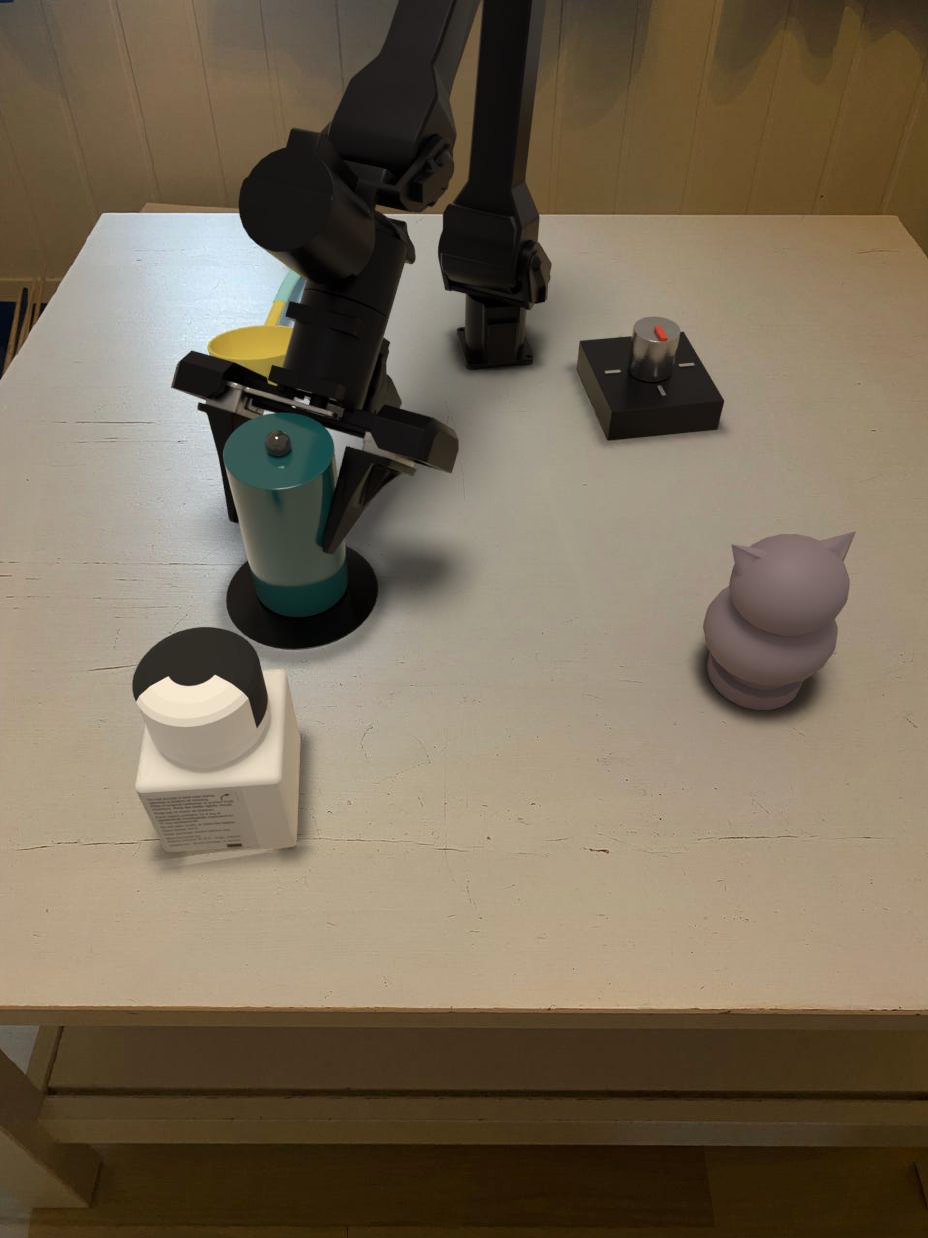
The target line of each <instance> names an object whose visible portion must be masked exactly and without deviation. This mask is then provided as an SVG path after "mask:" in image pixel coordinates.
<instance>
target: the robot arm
mask: <svg viewBox="0 0 928 1238" xmlns="http://www.w3.org/2000/svg"><path fill="white" fill-rule="evenodd" d="M480 3H481V0H397V1H396V5H395V8H394V10H393V13H392V16H391V20H390V23H389V26H388V29H387V32H386V35H385V38H384V41H383V43H382V45H381V48H380V50H379V51H378V54H377V56H375V57H373V59H372V60H371V61H369V62H368V63H367V64H366V65H364V66H363V67H362V68H361V69H359V71H357V72H356V73H355V74H353V76H351V78H350V79H349V81H348V82H347V85H346V87H345V89H344V91H343V93H342V96H341V98H340V100H339V102H338V105H337V107H336V109H335V111H334V114H333V115H332V118H331V120H330V121H329V122H328V124H326V125H325V127H323V129H322V130H320V132H319V131H314V130H309V129H303V128H300V127H294V126H293V127H291V129H290V130H289V134H288V138H287V142H286V146H285V147H282V148H279V149H276V150H273V151H271V152H270V153H268V154H267V155H265V156H264V157H263V158H261V159H260V160H259V161H258V162H257V164H255V165H254V167H253V168H252V169H251V170H250V172H249V174H248V176H246V177H245V178H244V179H243V180H242V183H241V186H240V189H239V195H238V202H237V204H238V214H239V215H238V217H239V218H240V219H239V220H240V222H241V226H242V228H243V229H244V231H245V233H246V234H247V236H248V238H249V239H251V240H252V241H253V242H254V243H255V244H256V245H257V246H259V247H260V248H261V249H262V250H264V251H265V252H267V253H268V254H269V255H271V256H272V257H273V258H275V259H276V260H278V261H279V262H281V263H282V264H283V265H284V266H285V267H287V268H289V269H290V270H293V271H294V272H296V273H297V274H298V275H300V276H301V277H300V278H302V279H305V280H306V281H305V284H304V287H303V291H302V294H301V297H300V302H296V301H292V300H288V303H287V307H286V312H285V315H284V317H286V318H287V319H289V320H290V321H292V322H293V327H292V328H293V330H292V334H291V337H290V341H289V344H288V348H287V352H286V355H285V359H284V363H283V366H282V367H279V366H275V365H272V366H271V370H270V373H269V377H268V380H267V377H265V376H263V375H261V374H259V373H257V372H254V371H252V370H250V369H248V368H246V367H244V366H242V365H239V364H237V363H235V362H232V361H228V360H225V359H221V358H217V357H214V356H210V354H206V353H203V352H199V351H195V350H192V349H191V350H190V351H189V352H188V353H187V354H185V356H183V357H181V359H180V360H179V361H178V362H177V364H176V366H175V370H174V374H173V378H172V382H171V386H170V388H171V389H173V390H176V391H178V392H182V393H185V394H186V395H190V396H192V397H195V398H197V399H201V400H203V401H205V402H199V401H198V403H197V411H199V412H201V413H204V414H206V417H207V419H208V424H209V427H210V430H211V434H212V439H213V442H214V446H215V449H216V453H217V459H218V462H219V468H220V474H221V480H222V485H223V486H222V487H223V492H224V499H225V505H226V511H227V516H228V521H229V522H230V523H234V524H239V521H238V517H237V513H236V509H235V505H234V501H233V497H232V492H231V488H230V484H229V480H228V476H227V472H226V468H225V464H224V458H223V452H224V447H225V444H226V442H227V440H228V438H229V437H230V435H231V434H232V433H233V432H234V431H235V430H236V429H237V428H238V427H239V426H241V425H242V424H244V423H245V422H247V421H249V420H251V419H253V418H256V417H259V416H262V415H265V414H264V413H265V411H266V412H268V413H269V412H270V413H295V414H300V415H304V416H307V417H310V418H312V419H314V420H316V421H317V422H319V423H320V424H322V425H323V426H324V427H325V428H326V429H327V430H331V431H335V432H337V433H342V434H345V435H348V436H352V437H356V438H358V439H362V448H361V449H359V448H355V447H353V446H349V445H345V448H344V451H343V456H342V460H341V464H340V467H339V472H338V474H337V475H338V479H337V483H336V487H335V491H334V495H333V499H332V503H331V507H330V511H329V515H328V519H327V523H326V527H325V532H324V539H323V548H322V551H323V552H324V553H327V554H333V553H334V552H335V551H336V549H337V548H338V547H339V545H340V544H341V542H342V541H343V540H344V539H345V538H346V537H347V535H348V534H349V533H350V531H351V530H352V529H353V527H354V526H355V525H356V523H357V521H358V520H359V519H360V517H361V516H362V514H363V513H364V511H365V510H366V509H367V507H368V506H369V505H370V504H371V502H372V501H373V500H374V499H375V498H376V496H377V495H378V494H379V493H380V492H381V491H382V490H383V489H384V488H385V487H386V486H387V485H388V484H390V483H392V482H393V481H394V480H396V479H398V477H400V476H402V475H408V476H410V477H414V475H415V474H416V473H417V471H418V469H416V468H414V465H415V464H417V465H421V466H424V467H427V468H431V469H435V470H437V471H441V472H444V473H447V474H452V473H453V471H454V467H455V463H456V461H457V457H458V454H459V449H460V448H459V446H460V445H459V444H460V443H459V442H460V439H459V438H458V435H457V433H456V430H455V429H453V428H452V427H450V426H449V425H447V424H445V423H443V422H441V421H440V420H438V419H436V418H434V417H432V416H429V415H425V414H421V413H418V412H414V411H410V410H407V409H404V408H402V405H403V401H402V399H401V397H400V394H399V392H398V389H397V387H396V385H395V383H394V380H393V379H392V377H391V376H390V375H389V374H388V371H387V369H388V368H387V362H388V358H389V355H390V345H391V341H390V340H389V339H387V338H385V333H386V331H387V327H388V323H389V320H390V317H391V312H392V309H393V306H394V302H395V299H396V295H397V292H398V288H399V285H400V281H401V278H402V274H403V270H404V268H405V264H408V265H413V264H414V263H415V262H416V258H417V255H416V247H415V245H414V244H413V243H414V242H413V241H412V240H411V238H410V235H409V232H408V223H407V222H406V221H405V220H400V219H396V218H392V217H388V216H386V215H385V214H384V213H382V212H380V211H379V210H376V208H377V206H379V207H380V206H381V207H384V208H390V209H395V210H398V211H402V212H406V213H407V212H408V213H416V214H417V213H420V214H421V213H423V212H424V211H425V210H426V209H428V208H433V207H434V206H435V205H436V204H437V203H438V201H439V199H440V198H441V197H443V196H444V194H445V193H446V191H448V189H449V186H450V181H451V180H452V178H453V176H454V173H455V162H454V149H455V146H456V145H455V144H456V141H457V136H458V134H457V127H456V123H455V119H454V115H453V109H452V105H451V100H450V98H451V94H452V90H453V87H454V83H455V79H456V77H457V73H458V69H459V67H460V65H461V61H462V58H463V55H464V53H465V52H464V51H465V49H466V46H467V43H468V40H469V37H470V34H471V30H472V28H473V25H474V22H475V19H476V16H477V14H478V13H477V12H478V10H479V6H480ZM546 5H547V0H482V5H481V16H480V31H479V43H478V55H477V64H476V65H477V67H476V80H475V88H474V89H475V90H474V91H475V92H474V102H473V113H472V114H473V115H472V126H471V139H470V150H469V151H470V152H469V162H468V163H469V165H468V175H467V181H466V182H465V183H464V185H463V186H462V188H461V190H459V192H458V194H457V195H456V197H455V198H454V200H453V201H452V203H448V204H447V206H446V207H445V209H444V211H443V212H442V230H441V233H440V237H439V239H438V245H437V259H438V263H439V268H440V273H441V277H442V278H441V279H442V282H443V287H444V290H445V291H448V292H456V293H460V294H464V295H465V298H464V299H465V301H464V302H465V305H464V326H460V327H457V328H456V337H457V340H458V345H459V347H460V350H461V354H462V357H463V361H464V364H465V367H466V368H468V369H479V368H492V367H493V368H494V367H501V366H503V367H504V366H514V365H515V366H516V365H524V364H532V363H534V360H535V356H534V353H533V350H532V348H531V344H530V342H529V340H528V337H527V335H526V323H527V321H526V320H527V311H531V310H532V309H533V307H534V306H535V305H539V304H543V303H546V301H547V300H548V295H549V294H548V293H549V284H550V281H551V271H552V264H553V263H552V262H551V259H550V258H549V256H548V254H547V252H546V251H545V249H544V248H543V246H542V244H541V243H540V242H539V234H540V233H539V232H540V231H539V230H540V217H541V216H540V213H539V211H538V208H537V205H536V204H535V201H534V198H533V197H532V194H531V191H530V189H529V187H528V184H527V181H526V179H527V178H526V177H527V167H528V158H529V150H530V142H531V133H532V126H533V117H534V108H535V99H536V90H537V82H538V74H539V66H540V57H541V48H542V39H543V31H544V23H545V15H546V14H545V13H546ZM268 381H271V382H273V383H275V384H277V386H276V385H272V384H269V383H268ZM295 399H297V400H295ZM305 399H307V401H308V403H304V402H300V401H305ZM298 400H300V401H298Z"/></svg>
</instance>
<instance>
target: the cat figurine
mask: <svg viewBox="0 0 928 1238" xmlns="http://www.w3.org/2000/svg"><path fill="white" fill-rule="evenodd" d="M856 533H857V531H852V532H851V531H850V532H848V533H844V534H840V535H836V536H833V537H829V538H825V539H821V540H819V539H817V538H814V537H812V536H809V535H804V534H798V533H781V534H776V535H771V536H767V537H764V538H763V539H760V540H759V541H756V542H754V543H752V544H751V545H749V546H746V545H740V544H735V543H731V544H730V545H731V550H732V556H733V561H734V564H733V566H732V570H731V573H730V576H729V581H728V586H726V587H724V588H723V589H722V590H721V591H720V592H719V593H718V594H717V595H716V596H715V597H714V599H712V600H711V602H710V603H709V605H708V607H707V608H706V612H705V616H704V620H703V623H702V630H703V635H704V640H705V644H706V645H705V646H706V648H707V649H708V651H709V655H708V659H707V663H706V670H707V674H708V678H709V680H710V682H711V684H712V686H713V687H714V688H715V690H716V691H718V693H720V695H722V696H723V697H724V698H725V699H726V700H728V701H730V702H732V703H734V704H736V705H738V706H739V707H743V708H747V709H750V710H753V711H772V710H776V709H779V708H782V707H785V706H786V705H788V704H789V703H791V702H792V701H794V699H795V698H796V696H797V694H799V691H800V689H801V687H802V685H803V683H804V681H805V680H806V679H808V678H810V677H811V676H813V675H815V674H816V673H818V672H819V671H820V670H821V669H823V668H824V667H825V666H826V664H827V662H828V661H829V660H830V658H831V657H832V655H833V654H834V653H835V650H836V647H837V640H838V633H839V628H838V624H837V622H836V618H837V617H838V616H839V615H840V613H841V611H843V609H844V608H845V606H846V604H847V602H848V599H849V592H850V584H851V582H850V581H851V580H850V576H849V573H848V571H847V567H846V564H845V563H844V562H845V560H846V557H847V555H848V552H849V549H850V547H851V545H852V542H853V541H854V538H855V535H856Z"/></svg>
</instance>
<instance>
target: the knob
mask: <svg viewBox="0 0 928 1238" xmlns="http://www.w3.org/2000/svg"><path fill="white" fill-rule="evenodd" d="M680 332H681V328H680V326H679V325H678V324H677V323H676V322H675V321H673V320H671V319H669V318H667V317H663V316H646V317H642V318H640V319H638V320H636V321H635V323H634V324H633V326H632V333H631V336H632V339H631V345H630V351H629V358H628V364H627V369H628V371H629V373H630V374H631V375H632V376H633V377H635V378H637V379H639V380H642V381H647V382H658V381H663V380H665V379H667V378H669V377H670V376H671V374H672V371H673V367H674V362H675V357H676V352H677V347H678V342H679V337H680Z"/></svg>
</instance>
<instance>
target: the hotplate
mask: <svg viewBox="0 0 928 1238" xmlns="http://www.w3.org/2000/svg"><path fill="white" fill-rule="evenodd" d="M345 548H346V557H347V566H348V578H349V580H348V585H347V588H346V591H345V593H344V594H343V596H342V597H341V599H340V600H339V601H338V602H337V603H336V604H335V605H333V606H332V607H331V608H329V609H328V610H326V611H324V612H322V613H319V614H316V615H313V616H308V617H289V616H284V615H280V614H278V613H275V612H273V611H272V610H270V609H269V608H267V607H266V606H265V605H264V604H263V603H262V602H261V601H260V599H259V598H258V596H257V594H256V591H255V587H254V583H253V579H252V575H251V571H250V567H249V563H248V559H247V560H246V561H245V562H244V563H243V564H241V566H239V568H238V569H237V570H236V572H235V573H234V575H233V576H232V577H231V579H230V581H229V584H228V587H227V591H226V599H225V604H226V611H227V613H228V617H229V618H230V621H231V622H232V624H233V625H234V626H235V627H236V629H238V631H240V632H241V634H242V635H243V636H246V637H247V638H248V639H250V640H251V641H253V642H255V643H258V644H260V645H263V646H265V647H269V648H274V649H278V650H286V651H303V650H310V649H311V650H312V649H317V648H320V647H324V646H327V645H330V644H333V643H335V642H338V641H340V640H341V639H344V638H345V637H347V636H349V635H350V634H352V633H353V632H355V631H356V630H357V629H358V628H359V627H361V626H362V625H363V624H364V623H365V621H367V619H368V618H369V617H370V615H371V614H372V612H373V610H374V609H375V606H376V604H377V600H378V597H379V582H378V577H377V574H376V573H375V570H374V568H373V566H372V565H371V564H370V562H369V561H368V560H367V559H366V558H365V557H364V556H363V555H362V554H360V553H359V552H358V551H356V550H355V549H353V548H351V547H349V546H346V545H345Z"/></svg>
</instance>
